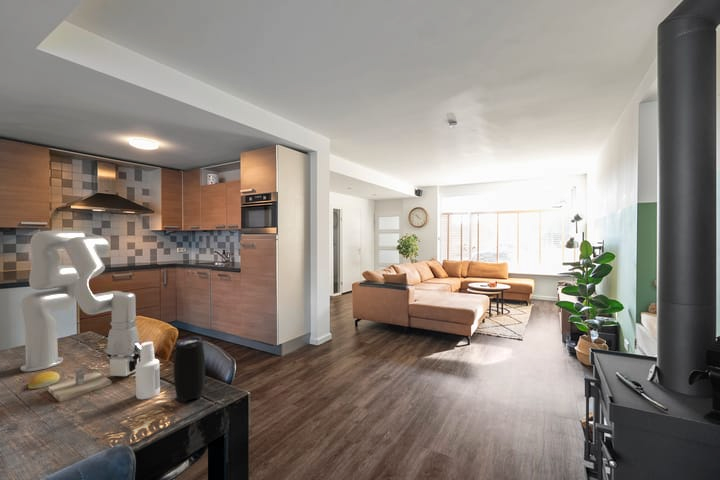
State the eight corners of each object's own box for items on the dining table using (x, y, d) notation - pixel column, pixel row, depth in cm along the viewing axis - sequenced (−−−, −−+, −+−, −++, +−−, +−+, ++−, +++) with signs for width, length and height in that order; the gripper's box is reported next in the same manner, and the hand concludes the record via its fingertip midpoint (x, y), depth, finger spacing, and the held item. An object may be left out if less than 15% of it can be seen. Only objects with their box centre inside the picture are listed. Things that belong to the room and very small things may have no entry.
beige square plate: (47, 390, 110) (47, 374, 110) (97, 375, 122) (96, 360, 122) (59, 402, 103) (59, 384, 103) (111, 384, 114) (110, 368, 114)
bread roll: (26, 392, 110) (26, 381, 110) (30, 383, 117) (30, 372, 117) (59, 384, 115) (58, 374, 115) (61, 376, 122) (60, 366, 122)
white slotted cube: (109, 375, 119) (109, 358, 119) (123, 368, 125) (123, 352, 125) (125, 376, 118) (125, 359, 118) (138, 368, 125) (138, 352, 125)
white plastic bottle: (164, 391, 109) (163, 340, 109) (145, 401, 103) (144, 347, 102) (150, 388, 111) (149, 339, 111) (131, 398, 105) (130, 345, 104)
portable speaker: (168, 402, 102) (167, 343, 101) (191, 388, 111) (189, 334, 111) (189, 405, 100) (188, 345, 99) (211, 391, 109) (209, 336, 108)
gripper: (94, 327, 118) (95, 373, 118) (137, 328, 117) (138, 374, 118) (111, 321, 125) (111, 365, 126) (152, 322, 125) (152, 366, 125)
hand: (124, 369), depth 122 cm, fingers closed on white slotted cube, 6 cm apart
